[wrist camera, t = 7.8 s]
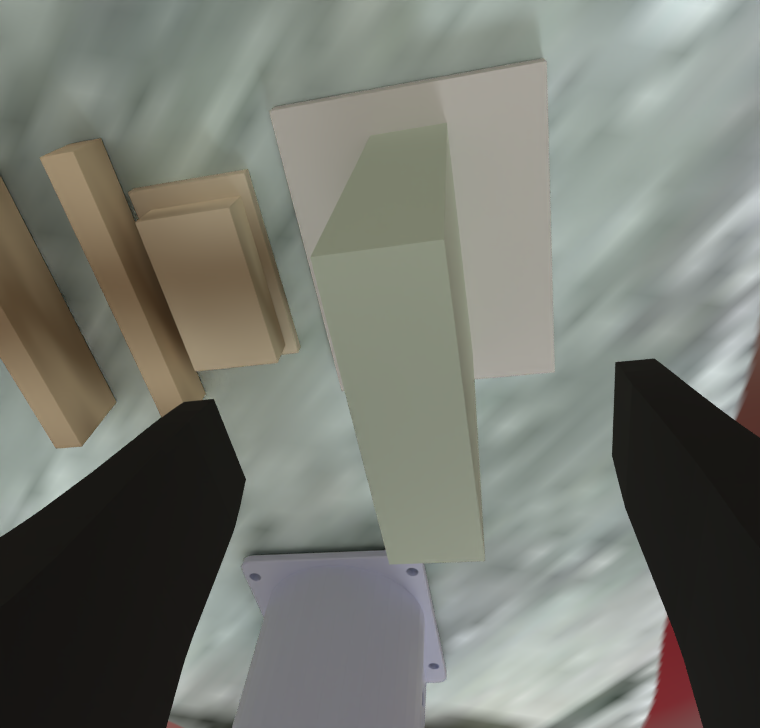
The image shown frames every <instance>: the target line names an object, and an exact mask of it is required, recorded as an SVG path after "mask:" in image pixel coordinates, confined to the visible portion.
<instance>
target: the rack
mask: <svg viewBox="0 0 760 728" xmlns="http://www.w3.org/2000/svg"><path fill="white" fill-rule="evenodd" d="M40 159H41V161H42V164H43V166H44V168H45V170H46V172H47V174H48V176H49V178H50V181H51V183H52V185H53V187H54V189H55V191H56V193H57V196H58V198H59V200H60V202H61V204H62V206H63V208H64V210H65V213H66V215H67V217H68V219H69V221H70V223H71V225H72V227H73V230H74V232H75V234H76V236H77V238H78V240H79V242H80V244H81V247H82V249H83V251H84V253H85V255H86V257H87V259H88V261H89V264H90V266H91V268H92V270H93V272H94V274H95V276H96V279H97V281H98V283H99V285H100V287H101V289H102V291H103V293H104V296H105V298H106V300H107V302H108V304H109V306H110V308H111V310H112V313H113V315H114V317H115V319H116V321H117V323H118V325H119V327H120V330H121V332H122V334H123V336H124V338H125V340H126V342H127V345H128V347H129V349H130V351H131V353H132V355H133V357H134V359H135V362H136V364H137V366H138V368H139V370H140V372H141V374H142V376H143V379H144V381H145V383H146V385H147V387H148V389H149V391H150V393H151V396H152V398H153V400H154V402H155V404H156V406H157V408H158V410H159V413H160V415H161V417H163V416H164V415H166V414H167V413H168V412H170V411H171V410H172V409H174V408H175V407H177V406H178V405H180V404H181V403H183V402H187V401H198V400H202V399H203V398H204V396H205V391H204V389H203V386H202V384H201V381H200V379H199V376H198V374H197V372H196V371H195V370H194V368H193V365H192V363H191V360H190V358H189V355H188V353H187V350H186V348H185V345H184V343H183V340H182V338H181V335H180V333H179V330H178V328H177V326H176V323H175V321H174V318H173V316H172V313H171V311H170V308H169V306H168V303H167V301H166V298H165V296H164V293H163V291H162V288H161V286H160V283H159V281H158V278H157V276H156V273H155V271H154V268H153V266H152V263H151V261H150V259H149V256H148V254H147V251H146V249H145V246H144V244H143V241H142V239H141V236H140V234H139V231H138V229H137V226H136V224H135V220H134V218H133V215H132V213H131V210H130V208H129V206H128V203H127V201H126V198H125V196H124V193H123V191H122V189H121V186H120V184H119V181H118V179H117V176H116V174H115V171H114V169H113V167H112V164H111V162H110V159H109V157H108V154H107V152H106V149H105V147H104V145H103V142H102V140H101V138H100V139H94V140H89V141H83V142H78V143H72V144H68V145H66V146H64V147H62V148H59V149H57V150H55V151H53V152H51V153H48V154H46V155H44V156H42V157H40ZM0 358H1V359H2V361H3V363H4V364H5V366H6V368H7V369H8V371H9V372H10V374H11V376H12V377H13V379H14V381H15V382H16V384H17V386H18V387H19V389H20V391H21V392H22V394H23V395H24V397H25V399H26V400H27V402H28V404H29V405H30V407H31V409H32V410H33V412H34V413H35V415H36V417H37V418H38V420H39V422H40V423H41V425H42V427H43V428H44V430H45V431H46V433H47V435H48V436H49V438H50V440H51V441H52V443H53V445H54V446H55V448H69V447H82V446H83V444H84V443H85V442H86V441H87V439H88V438H89V437H90V435H91V434H92V433H93V432H94V430H95V429H96V428H97V427H98V425H99V424H100V423H101V421H102V420H103V419H104V418H105V416H106V415H107V414H108V412H109V411H110V410H111V409H112V407H113V406H114V405H115V403H116V401H115V399H114V397H113V395H112V393H111V391H110V389H109V387H108V385H107V383H106V381H105V379H104V377H103V375H102V373H101V371H100V369H99V367H98V365H97V363H96V361H95V360H94V358H93V356H92V354H91V352H90V350H89V348H88V346H87V344H86V342H85V340H84V338H83V336H82V334H81V332H80V330H79V328H78V326H77V324H76V322H75V320H74V319H73V317H72V315H71V313H70V311H69V309H68V307H67V305H66V303H65V301H64V299H63V297H62V295H61V293H60V291H59V289H58V287H57V285H56V283H55V281H54V279H53V277H52V276H51V274H50V272H49V270H48V268H47V266H46V264H45V262H44V260H43V258H42V256H41V254H40V252H39V250H38V248H37V246H36V244H35V242H34V240H33V238H32V236H31V235H30V233H29V231H28V229H27V227H26V225H25V223H24V221H23V219H22V217H21V215H20V213H19V211H18V209H17V207H16V205H15V203H14V201H13V199H12V197H11V195H10V194H9V192H8V190H7V188H6V186H5V184H4V182H3V180H2V178H1V176H0Z"/></svg>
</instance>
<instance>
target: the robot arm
mask: <svg viewBox="0 0 760 728" xmlns="http://www.w3.org/2000/svg"><path fill="white" fill-rule="evenodd" d="M612 457H613V461H614V465H615V469H616V474H617V478H618V482H619V486H620V489H621V493H622V497H623V501H624V505H625V508H626V511H627V513H628V516H629V519H630V521H631V524H632V526H633V529H634V532H635V534H636V537H637V539H638V542H639V544H640V547H641V549H642V552H643V554H644V557H645V559H646V562H647V564H648V567H649V570H650V572H651V575H652V577H653V580H654V582H655V585H656V587H657V590H658V592H659V595H660V597H661V600H662V602H663V605H664V607H665V610H666V612H667V615H668V617H669V620H670V622H671V625H672V627H673V630H674V633H675V636H676V638H677V641H678V644H679V647H680V650H681V653H682V656H683V658H684V662H685V665H686V669H687V672H688V676H689V679H690V683H691V686H692V690H693V693H694V697H695V700H696V704H697V707H698V711H699V714H700V718H701V721H702V724H703V728H760V438H759V437H758V436H756V435H755V434H753V433H752V432H751V431H749V430H748V429H746V428H745V427H743V426H742V425H741V424H739V423H738V422H737V421H735V420H734V419H732V418H731V417H730V416H728V415H727V414H726V413H724V412H723V411H722V410H720V409H719V408H718V407H716V406H715V405H714V404H712V403H711V402H710V401H708V400H707V399H706V398H704V397H703V396H702V395H700V394H699V393H698V392H697V391H695V390H694V389H693V388H691V387H690V386H689V385H688V384H686V383H685V382H684V381H683V380H681V379H680V378H679V377H677V376H676V375H675V374H674V373H672V372H671V371H670V370H669V369H667V368H666V367H665V366H663V365H662V364H661V363H660V362H658V361H657V360H656V359H645V360H634V361H623V362H615V390H614V417H613V444H612ZM245 481H246V479H245V476H244V474H243V471H242V469H241V466H240V464H239V461H238V459H237V456H236V454H235V451H234V449H233V446H232V444H231V441H230V439H229V436H228V434H227V431H226V429H225V426H224V424H223V421H222V419H221V416H220V413H219V411H218V408H217V406H216V403H215V401H214V399H209V400H198V401H187V402H183V403H181V404H180V405H178V406H177V407H175V408H174V409H172V410H171V411H170V412H168V413H167V414H166V415H164V416H163V417H161V418H160V419H159V420H158V421H156V422H155V423H154V424H152V425H151V426H150V427H149V428H147V429H146V430H145V431H143V432H142V433H141V434H140V435H138V436H137V437H136V438H135V439H133V440H132V441H131V442H130V443H128V444H127V445H126V446H125V447H123V448H122V449H121V450H120V451H118V452H117V453H116V454H114V455H113V456H112V457H111V458H109V459H108V460H107V461H106V462H104V463H103V464H102V465H101V466H99V467H98V468H97V469H95V470H94V471H93V472H92V473H90V474H89V475H88V476H86V477H85V478H84V479H82V480H81V481H79V482H78V483H77V484H75V485H74V486H73V487H71V488H70V489H69V490H67V491H66V492H65V493H63V494H62V495H61V496H59V497H58V498H57V499H55V500H54V501H52V502H51V503H50V504H48V505H47V506H46V507H44V508H43V509H42V510H40V511H39V512H37V513H36V514H34V515H33V516H32V517H30V518H29V519H27V520H26V521H24V522H23V523H21V524H20V525H18V526H17V527H15V528H14V529H12V530H11V531H9V532H8V533H6V534H5V535H3V536H1V537H0V728H166V727H167V723H168V719H169V715H170V711H171V708H172V704H173V700H174V697H175V693H176V690H177V686H178V682H179V679H180V675H181V671H182V668H183V664H184V661H185V658H186V655H187V652H188V649H189V646H190V644H191V641H192V638H193V635H194V632H195V630H196V627H197V625H198V622H199V620H200V617H201V614H202V612H203V609H204V607H205V604H206V602H207V599H208V597H209V594H210V591H211V589H212V586H213V584H214V581H215V579H216V576H217V573H218V571H219V568H220V566H221V563H222V560H223V558H224V555H225V553H226V550H227V547H228V545H229V542H230V539H231V537H232V534H233V531H234V528H235V525H236V521H237V517H238V513H239V509H240V505H241V500H242V495H243V490H244V486H245ZM241 568H242V571H243V573H244V575H245V578H246V580H247V582H248V584H249V586H250V589H251V591H252V593H253V595H254V597H255V599H256V602H257V604H258V606H259V608H260V610H261V613H262V615H263V617H264V619H263V623H262V626H261V629H260V633H259V636H258V640H257V643H256V647H255V650H254V654H253V657H252V661H251V664H250V667H249V671H248V674H247V678H246V681H245V685H244V688H243V692H242V695H241V699H240V702H239V705H238V709H237V712H236V716H235V719H234V723H233V726H232V728H425V703H426V683H440V682H443V681H445V680H446V677H447V670H446V666H445V661H444V656H443V651H442V646H441V642H440V637H439V632H438V627H437V623H436V618H435V613H434V608H433V603H432V599H431V594H430V589H429V584H428V579H427V575H426V570H425V565H424V563H418V564H390V565H389V561H388V557H387V553H386V550H376V551H351V552H326V553H301V554H276V555H251V556H247V557H245V558H244V560H243V562H242V565H241Z"/></svg>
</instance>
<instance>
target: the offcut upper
mask: <svg viewBox="0 0 760 728" xmlns="http://www.w3.org/2000/svg"><path fill="white" fill-rule="evenodd" d="M135 224H136V226H137V229H138V231H139V234H140V236H141V239H142V241H143V244H144V246H145V249H146V251H147V254H148V256H149V259H150V261H151V263H152V266H153V268H154V271H155V273H156V276H157V278H158V281H159V283H160V286H161V288H162V291H163V293H164V296H165V298H166V301H167V303H168V306H169V308H170V311H171V313H172V316H173V318H174V321H175V323H176V326H177V328H178V330H179V333H180V335H181V338H182V340H183V343H184V345H185V348H186V350H187V353H188V355H189V358H190V360H191V363H192V365H193V368H194V370H195V371H205V370H214V369H224V368H233V367H243V366H252V365H262V364H271V363H278V361H279V359H280V356H281V354H282V352H283V350H284V347H285V342H284V338H283V335H282V332H281V328H280V325H279V322H278V318H277V315H276V312H275V308H274V305H273V302H272V298H271V295H270V292H269V288H268V285H267V282H266V278H265V275H264V272H263V268H262V265H261V262H260V258H259V255H258V252H257V248H256V245H255V242H254V238H253V235H252V232H251V228H250V225H249V222H248V218H247V215H246V212H245V208H244V205H243V202H242V198H241V196H236V197H229V198H223V199H217V200H210V201H204V202H198V203H191V204H185V205H178V206H172V207H166V208H159V209H153V210H150V211H149V212H148V213H146V214H145V215H144V216H142V217H141V218H140V219H139V220H137V221H136V222H135Z"/></svg>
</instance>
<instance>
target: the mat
mask: <svg viewBox="0 0 760 728" xmlns="http://www.w3.org/2000/svg"><path fill="white" fill-rule="evenodd" d="M269 113H270V117H271V121H272V124H273V128H274V132H275V136H276V140H277V144H278V148H279V151H280V155H281V159H282V163H283V167H284V171H285V174H286V178H287V182H288V186H289V190H290V194H291V198H292V201H293V205H294V209H295V213H296V217H297V221H298V225H299V228H300V232H301V236H302V240H303V244H304V248H305V251H306V255H307V259H308V263H309V267H310V271H311V275H312V278H313V282H314V286H315V290H316V294H317V298H318V302H319V305H320V309H321V313H322V317H323V321H324V325H325V329H326V332H327V336H328V340H329V344H330V348H331V352H332V355H333V359H334V363H335V367H336V371H337V375H338V379H339V382H340V386H341V390H342V391H345V390H344V386H343V382H342V379H341V375H340V371H339V367H338V363H337V359H336V355H335V351H334V348H333V344H332V340H331V336H330V332H329V328H328V324H327V320H326V316H325V313H324V309H323V305H322V301H321V297H320V293H319V289H318V285H317V281H316V278H315V274H314V270H313V266H312V262H311V258H310V257H311V255H312V253H313V251H314V249H315V247H316V245H317V242H318V240H319V238H320V236H321V234H322V232H323V230H324V228H325V226H326V224H327V222H328V220H329V218H330V216H331V214H332V212H333V210H334V208H335V206H336V204H337V202H338V200H339V198H340V196H341V194H342V192H343V190H344V188H345V186H346V184H347V182H348V180H349V178H350V176H351V174H352V172H353V170H354V168H355V166H356V164H357V162H358V160H359V157H360V155H361V153H362V151H363V149H364V147H365V145H366V143H367V141H368V139H369V137H370V136H371V135H377V134H383V133H389V132H395V131H401V130H407V129H413V128H419V127H425V126H431V125H436V124H442V123H447V128H448V137H449V146H450V155H451V164H452V173H453V182H454V190H455V199H456V208H457V217H458V226H459V235H460V244H461V253H462V261H463V270H464V279H465V288H466V297H467V306H468V315H469V324H470V332H471V341H472V350H473V364H474V379H484V378H496V377H507V376H518V375H529V374H540V373H551V372H555V363H554V325H553V287H552V249H551V211H550V173H549V135H548V97H547V61H546V60H545V59H544V58H541V59H536V60H530V61H525V62H519V63H514V64H508V65H502V66H497V67H491V68H486V69H480V70H475V71H469V72H464V73H458V74H453V75H447V76H442V77H436V78H431V79H425V80H420V81H414V82H409V83H403V84H398V85H392V86H387V87H381V88H376V89H370V90H365V91H359V92H353V93H348V94H342V95H337V96H331V97H326V98H320V99H315V100H309V101H304V102H298V103H293V104H287V105H282V106H276V107H274V108H272V109H271V110H270V111H269Z"/></svg>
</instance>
